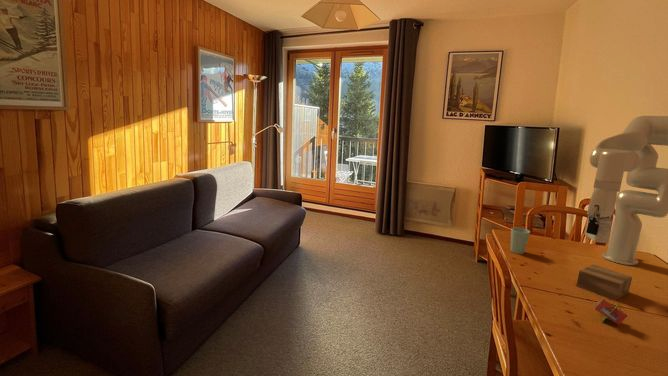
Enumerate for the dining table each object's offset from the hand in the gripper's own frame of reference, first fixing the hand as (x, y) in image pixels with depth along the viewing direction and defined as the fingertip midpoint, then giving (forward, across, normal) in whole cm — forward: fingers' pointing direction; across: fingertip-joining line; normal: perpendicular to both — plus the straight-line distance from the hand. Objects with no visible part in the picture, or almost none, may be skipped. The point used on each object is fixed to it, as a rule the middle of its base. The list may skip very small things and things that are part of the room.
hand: (597, 232), depth 128 cm
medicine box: (+3, 0, 0) cm, 3 cm away
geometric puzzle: (+20, +24, +16) cm, 35 cm away
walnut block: (+20, +1, +5) cm, 21 cm away
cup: (+20, -6, -31) cm, 38 cm away
